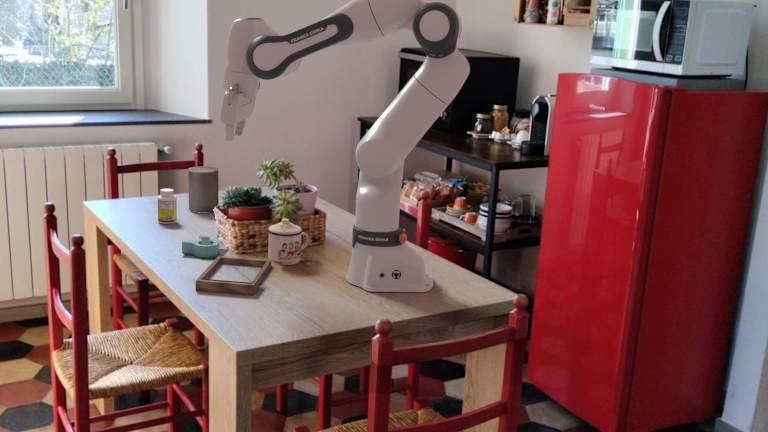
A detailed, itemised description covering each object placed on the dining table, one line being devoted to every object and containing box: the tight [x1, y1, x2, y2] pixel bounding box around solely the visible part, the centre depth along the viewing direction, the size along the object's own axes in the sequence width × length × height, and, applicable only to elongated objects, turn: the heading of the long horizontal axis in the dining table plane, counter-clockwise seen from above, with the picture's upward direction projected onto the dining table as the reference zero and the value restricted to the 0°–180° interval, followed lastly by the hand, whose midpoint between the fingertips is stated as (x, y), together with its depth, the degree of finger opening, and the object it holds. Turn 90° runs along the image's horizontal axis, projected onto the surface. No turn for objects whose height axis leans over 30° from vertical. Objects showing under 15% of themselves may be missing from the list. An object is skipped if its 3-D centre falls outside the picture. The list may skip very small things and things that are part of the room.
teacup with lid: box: [267, 218, 310, 266], centre depth 219 cm, size 12×9×12 cm
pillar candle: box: [187, 165, 219, 213], centre depth 265 cm, size 10×10×15 cm
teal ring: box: [181, 239, 220, 257], centre depth 218 cm, size 10×6×3 cm
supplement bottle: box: [157, 188, 178, 225], centre depth 248 cm, size 6×6×10 cm
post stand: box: [181, 235, 229, 261], centre depth 218 cm, size 10×10×6 cm
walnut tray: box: [195, 255, 272, 296], centre depth 202 cm, size 14×20×2 cm
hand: (234, 137), depth 205 cm, fingers open, 8 cm apart
